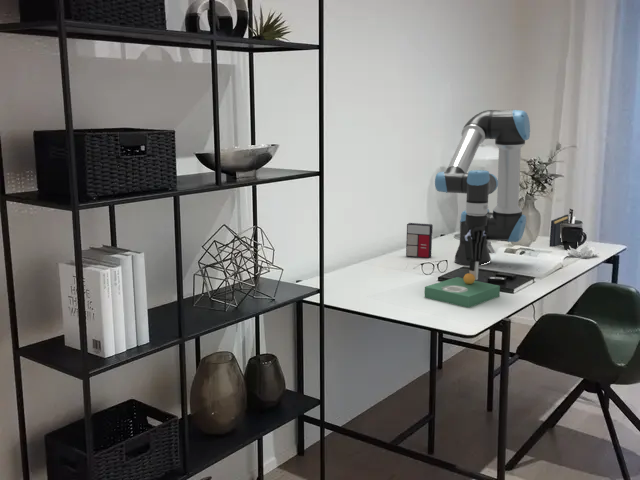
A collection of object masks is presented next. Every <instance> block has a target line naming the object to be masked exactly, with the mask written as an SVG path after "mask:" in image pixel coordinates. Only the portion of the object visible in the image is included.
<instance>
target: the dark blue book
mask: <svg viewBox="0 0 640 480" xmlns="http://www.w3.org/2000/svg"><path fill="white" fill-rule="evenodd" d="M568 219H569V214H564V215H562V216H560V217H556V218H555V219H553V220H550V231H549V233H550V234H549V247H550V248H551V247H552V248H553V247H556V246H559V245H561V244H562V243H561V238H560V224H561V223H562V221H568Z"/></svg>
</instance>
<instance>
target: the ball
mask: <svg viewBox="0 0 640 480" xmlns="http://www.w3.org/2000/svg"><path fill="white" fill-rule="evenodd" d="M462 278H463V279H464V282H465V283H466V284H472V283H474V281H476V280H475V277H474V275H473V274H471V273H465V274H464V276H463V277H462Z"/></svg>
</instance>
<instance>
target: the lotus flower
mask: <svg viewBox="0 0 640 480" xmlns="http://www.w3.org/2000/svg"><path fill="white" fill-rule="evenodd" d="M568 246H569V249H568V248H567V255H568V256H570V257H574V258H578V259H589V258H592V257H594V256H596V255H598V254H599V252H598V253H596V247H595V246H592V247H590V245H589V242H587V241H586V242H584V244H581V245H579V242H578V241H577V248H576V249H575V248H572V247H571V246H570V245H568ZM594 253H595V254H594Z"/></svg>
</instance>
